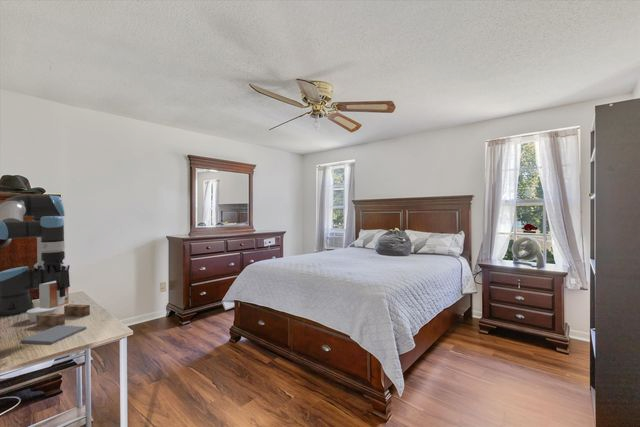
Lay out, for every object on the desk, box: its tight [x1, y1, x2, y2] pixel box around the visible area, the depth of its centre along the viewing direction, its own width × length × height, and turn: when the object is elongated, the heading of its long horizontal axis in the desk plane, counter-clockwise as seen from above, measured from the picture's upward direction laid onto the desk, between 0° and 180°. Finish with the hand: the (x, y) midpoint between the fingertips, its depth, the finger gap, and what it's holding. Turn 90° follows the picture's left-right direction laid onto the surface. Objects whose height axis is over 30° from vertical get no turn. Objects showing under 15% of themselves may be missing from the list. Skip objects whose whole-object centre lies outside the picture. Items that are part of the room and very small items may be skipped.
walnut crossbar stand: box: [36, 303, 91, 328], centre depth 145 cm, size 12×16×5 cm
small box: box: [38, 281, 70, 309], centre depth 127 cm, size 8×6×10 cm
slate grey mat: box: [20, 325, 87, 345], centre depth 127 cm, size 15×15×1 cm
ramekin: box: [25, 306, 58, 323], centre depth 147 cm, size 11×11×5 cm
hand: (54, 303), depth 127 cm, fingers closed on small box, 6 cm apart
